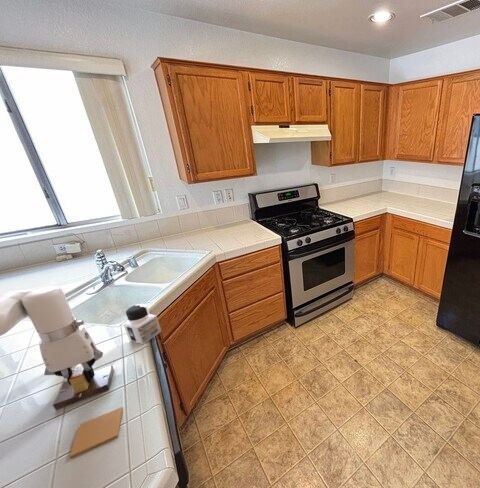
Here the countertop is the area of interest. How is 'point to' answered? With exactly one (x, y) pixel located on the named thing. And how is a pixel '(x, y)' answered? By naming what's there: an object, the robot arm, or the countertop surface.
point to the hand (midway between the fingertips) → (83, 381)
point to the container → (141, 324)
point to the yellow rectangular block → (79, 379)
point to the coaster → (97, 432)
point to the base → (96, 386)
